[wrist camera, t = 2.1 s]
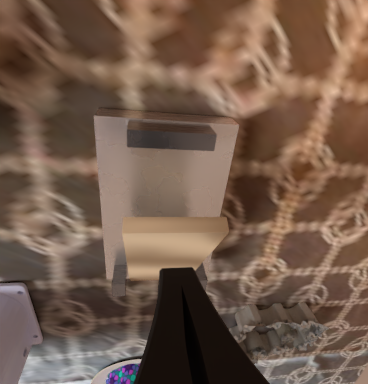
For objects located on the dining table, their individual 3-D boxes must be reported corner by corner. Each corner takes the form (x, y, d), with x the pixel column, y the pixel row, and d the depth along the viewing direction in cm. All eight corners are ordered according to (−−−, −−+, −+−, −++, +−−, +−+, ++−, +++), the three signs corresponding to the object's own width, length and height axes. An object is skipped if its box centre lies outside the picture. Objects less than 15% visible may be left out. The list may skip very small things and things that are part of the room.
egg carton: (222, 335, 33) (231, 369, 30) (239, 298, 30) (251, 333, 26) (292, 333, 36) (308, 365, 32) (316, 299, 32) (337, 331, 28)
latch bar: (187, 269, 22) (188, 278, 22) (130, 271, 21) (129, 280, 21) (226, 217, 12) (229, 232, 12) (123, 217, 12) (122, 233, 11)
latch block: (203, 259, 25) (212, 293, 21) (109, 262, 23) (103, 299, 20) (230, 117, 18) (250, 134, 14) (99, 107, 16) (87, 125, 13)
